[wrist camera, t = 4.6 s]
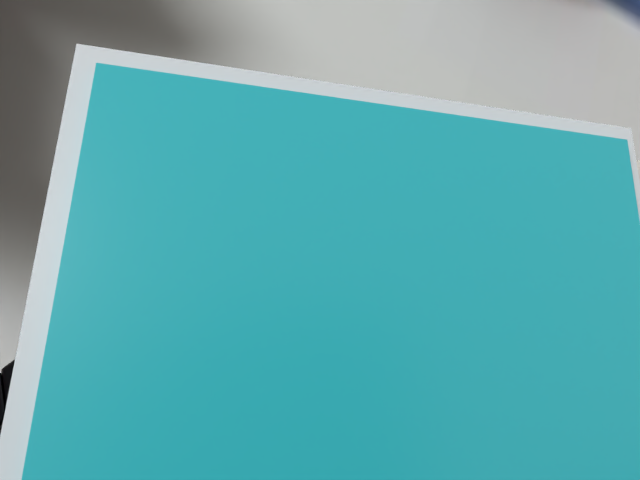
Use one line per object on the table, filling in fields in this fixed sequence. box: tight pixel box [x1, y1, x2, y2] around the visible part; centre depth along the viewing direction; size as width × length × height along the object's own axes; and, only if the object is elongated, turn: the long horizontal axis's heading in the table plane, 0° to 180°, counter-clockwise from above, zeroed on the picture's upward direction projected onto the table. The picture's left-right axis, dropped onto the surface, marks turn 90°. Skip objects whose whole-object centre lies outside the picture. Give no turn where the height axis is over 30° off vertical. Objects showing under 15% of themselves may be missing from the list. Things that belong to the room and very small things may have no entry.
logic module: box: [0, 44, 640, 480], centre depth 8 cm, size 5×5×12 cm
